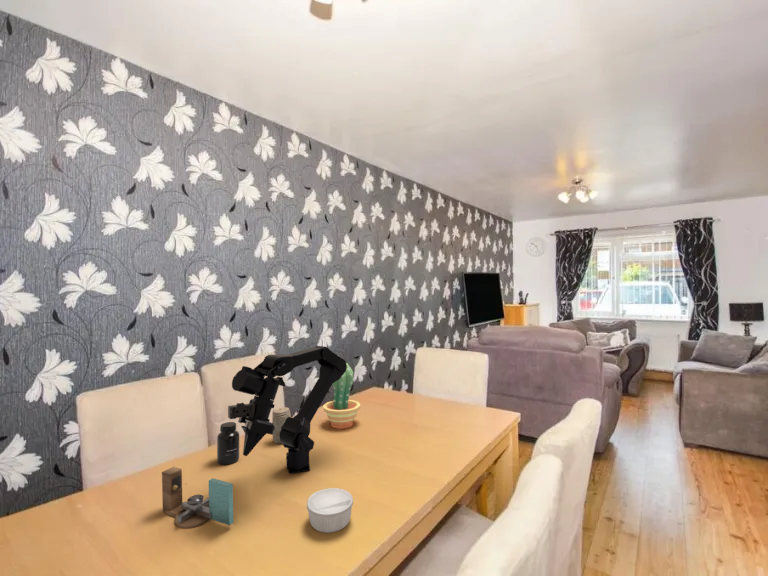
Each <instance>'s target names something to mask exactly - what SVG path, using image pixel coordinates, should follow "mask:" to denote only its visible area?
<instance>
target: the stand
mask: <svg viewBox="0 0 768 576" xmlns="http://www.w3.org/2000/svg"><path fill="white" fill-rule="evenodd" d="M161 482H162V483H161V486H162V493H161V494H162V495H161V498H162V511H163V512H165V514H166V515H168V516H171V517H174V519H175V520H174V523H175V525H176V526H177V527H178V528H180V529H193V528H198V527H200V526H203V525H204V524H206V523H208V522H210V521H211V520H212V519H208V518H205V517H202V516H199V515H192V516H191V517H189V518H188V519H186V520H184V521H183V522H178V516H179V515H181V514H182V513H184V512H185V511H186V510H183V509H181V504H182V503H184V502H185V501H183V471H182V468H180V467H176V466H172V467H169V468H168V469H166V470H163V471H162V472H161ZM206 507H208V508H209V505H208V506H206Z"/></svg>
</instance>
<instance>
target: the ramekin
mask: <svg viewBox="0 0 768 576" xmlns="http://www.w3.org/2000/svg"><path fill="white" fill-rule="evenodd" d="M353 504H354V498H353V496H352V494H351V493H350V492H349V490H348V491H347V490H345V489H342V488H339V487H338V488H337V487H329V488H324V489H323V488H322V489H321V490H318V491H315V492H314V493H312V494H311V495H310V496H309V497H308V499H307V500H306V509H307V512H308V518H309V523H310V525H311V527H312V528H313V529H314V530H316V531H317V532H319V533H327V534H328V533H336V532H338V531H341V530H343V529H344V528H345V527H347V525H348V523H350V520H351V515H352V509H353V508H352V507H353Z"/></svg>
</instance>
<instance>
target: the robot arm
mask: <svg viewBox="0 0 768 576" xmlns="http://www.w3.org/2000/svg"><path fill="white" fill-rule="evenodd" d="M313 362H317V364H318V365H320V367H319V378H318V379H317V381H316V382H315V384H314V385H313V387H312V389H311V390H310V392H309V394H308V396H307V397H306V399H305V400H304V402H303V404H302V405H301V407H300V409H299V410H298V412H297V413H296V415H295V416H293V417H292V416H291V417H288V418H287V419H286V421H285V423H284V425H283V426H282V427H281V431H280V434H279V436H280V441H281V442H282V445H283V448H286V449H287V450H288V451H287V452H286V454H285V455H286V456H285V457H286V462H285V464H286V470H288V474H296V473H301V472H303V473H304V472H308V471H310V470H311V466H310V452H311V450H313V449H314V446H315V441H314V440H313V439H312V438H311V437H309V436H310V433H311V422H312V420H313V418H314V416H315V415H316V413H317V412H318V410H319V408H320V407H321V405H322V403H323V402H324V399H325V397H326V396H327V394H328V392H329V390H330V388H331V387H332V386H333V385H332V384H333V383H334V382H336V381H337V380H339V379H340V378H341V377H342V375H343V374H344V373H345V371H346V369H347V365H346V363H347V362H346V360H345V359H344V358H343V357H340V355H338V354H336V353H334V352H333V351H332V350H331V349H330V348H329V347H327V346H323V345H316V346H314V347H310V348H306V349H303V350H300V351H296V352H291V353H287V354H285V353H284V354H281V353H278V354H268V355H266V356H265V357H264V359H263V360H262V361H261V362H260V363H259V364H258V365H256V366H255V367H254V368H252V367H249V366H246V365H242V367H241V369H239V371H238V372H237V373H236V374H235V375H234V376H233V378H232V381H231V388H232V390H233V391H236V392H240V393H243V394H247V395H251V396H253V398H251V399H250V400H249V402H248V403H244V402H237V403H236V404H235V405H228V406H227V407H228V408H227V418H228V419H229V420H235V419H238V420H237V422H238V423H239V424H244V425H241V428H242V430H243V432H244V441H243V449H242V450H243V451H242V456H245V457H248V455H249V454H250V453H251V452H252V451H253V450H254V448H255V447H256V446H257V445H258V443H259V442H260V441H261V440H262V439H263V438H264V437H265V436H266V435H271V436H273V432H274V429H275V427H274V425H273V423H272V421H270V419H269V417H270V415H271V411H272V409H275V404H274V402H275V399H276V396H277V393H278V390H279V387H286V382H285V381H284V378H283V377H284V376H285V375H288V374H289V373H291V372H292V371H293V370H294V369H296V368H297V367H300V366H304V365H307V364H310V363H313Z"/></svg>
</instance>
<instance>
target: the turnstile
mask: <svg viewBox="0 0 768 576" xmlns="http://www.w3.org/2000/svg"><path fill="white" fill-rule="evenodd" d="M233 490H234V486H233V483H232V482H227V481H225V480H222V479H221V480H220V479H218V478H214V477H212V478H210V479H208V497H206V498H205V499H204V495H202V494H194V495H192V496H189V497H188V499H187V501H183V502H184V503H182V504H181V509H183V510H186V511H185V512H184V513H182V514H181V515H179V516H178V522H183V521H184V520H186V519H188V518H189V517H191V516H192V515H199V516H202V517H205V518H208V519H211V520H213V521H216V522H219V523H221V524H224V525H227V526H231V525H232V524H234V491H233ZM208 505H209V508H208V507H206V506H208Z"/></svg>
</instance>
